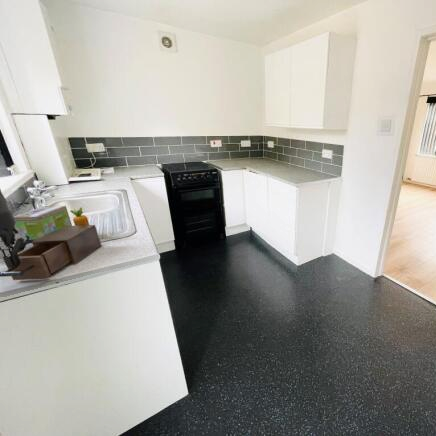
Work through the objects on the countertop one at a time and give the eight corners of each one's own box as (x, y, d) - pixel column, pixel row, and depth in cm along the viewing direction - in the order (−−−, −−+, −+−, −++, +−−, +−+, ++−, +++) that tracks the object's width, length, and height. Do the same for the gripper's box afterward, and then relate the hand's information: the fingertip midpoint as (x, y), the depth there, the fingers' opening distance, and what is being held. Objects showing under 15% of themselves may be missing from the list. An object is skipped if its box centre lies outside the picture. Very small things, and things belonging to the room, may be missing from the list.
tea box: (52, 250, 100) (38, 215, 94) (23, 252, 98) (8, 217, 93) (76, 235, 113) (66, 204, 108) (52, 236, 112) (40, 206, 107)
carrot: (78, 243, 105) (66, 210, 100) (82, 239, 109) (71, 207, 104) (92, 241, 107) (81, 208, 102) (95, 237, 111) (85, 205, 106)
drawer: (33, 287, 74) (23, 265, 71) (-4, 289, 73) (-15, 267, 70) (78, 258, 91) (72, 239, 88) (49, 259, 90) (41, 240, 88)
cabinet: (75, 264, 89) (66, 240, 85) (41, 265, 88) (31, 241, 85) (101, 246, 102) (95, 224, 99) (72, 247, 102) (64, 226, 98)
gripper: (28, 207, 72) (48, 258, 78) (-21, 208, 71) (4, 260, 77) (1, 215, 65) (26, 271, 71) (-53, 216, 64) (-23, 273, 70)
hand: (14, 265), depth 74 cm, fingers closed
